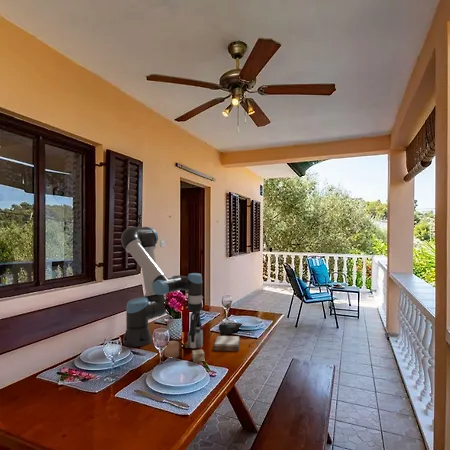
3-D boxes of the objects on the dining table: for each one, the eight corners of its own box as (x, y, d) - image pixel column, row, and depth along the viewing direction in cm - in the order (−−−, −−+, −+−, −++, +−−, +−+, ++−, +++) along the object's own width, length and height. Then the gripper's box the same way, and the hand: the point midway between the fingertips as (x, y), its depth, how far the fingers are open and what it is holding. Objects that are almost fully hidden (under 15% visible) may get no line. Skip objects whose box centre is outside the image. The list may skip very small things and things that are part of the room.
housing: (187, 347, 163) (187, 332, 163) (190, 343, 169) (190, 328, 169) (200, 347, 162) (200, 332, 163) (202, 343, 168) (202, 328, 169)
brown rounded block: (162, 358, 150) (162, 345, 150) (167, 352, 157) (167, 340, 157) (177, 358, 149) (176, 346, 149) (180, 353, 156) (180, 341, 156)
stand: (213, 350, 159) (213, 344, 159) (216, 340, 172) (216, 335, 172) (238, 350, 158) (238, 345, 158) (240, 341, 171) (240, 336, 171)
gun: (216, 337, 177) (219, 319, 180) (234, 339, 192) (237, 322, 195) (223, 338, 174) (226, 320, 177) (240, 340, 190) (243, 323, 193)
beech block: (193, 363, 144) (193, 354, 144) (192, 358, 149) (192, 350, 149) (204, 361, 146) (204, 353, 146) (202, 357, 150) (202, 349, 151)
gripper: (197, 308, 154) (198, 352, 154) (205, 297, 177) (206, 335, 177) (183, 308, 155) (183, 351, 154) (192, 297, 178) (193, 335, 178)
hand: (195, 343), depth 166 cm, fingers open, 11 cm apart
